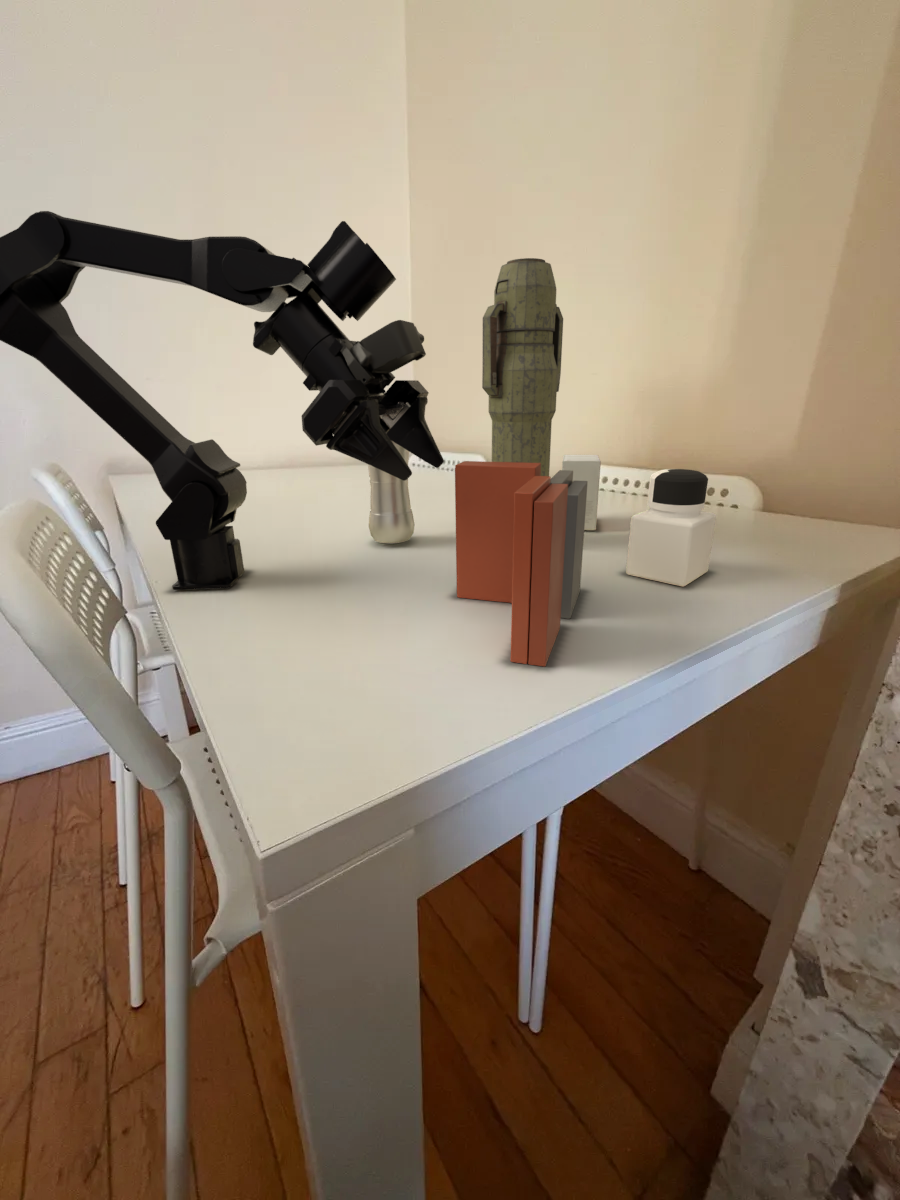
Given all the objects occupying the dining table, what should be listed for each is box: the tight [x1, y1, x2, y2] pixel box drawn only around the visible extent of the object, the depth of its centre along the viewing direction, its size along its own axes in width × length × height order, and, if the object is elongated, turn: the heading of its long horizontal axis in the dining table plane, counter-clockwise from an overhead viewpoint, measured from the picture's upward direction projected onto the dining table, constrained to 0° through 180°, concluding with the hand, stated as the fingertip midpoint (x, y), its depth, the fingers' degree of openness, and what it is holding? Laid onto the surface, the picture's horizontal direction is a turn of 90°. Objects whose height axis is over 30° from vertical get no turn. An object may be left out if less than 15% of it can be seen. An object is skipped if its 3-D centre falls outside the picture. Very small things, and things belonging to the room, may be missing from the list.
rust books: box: [510, 475, 568, 667], centre depth 47 cm, size 3×8×14 cm, turn 161°
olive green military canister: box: [481, 257, 564, 476], centre depth 75 cm, size 9×12×35 cm
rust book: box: [454, 460, 541, 604], centre depth 59 cm, size 8×3×14 cm, turn 71°
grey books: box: [550, 469, 588, 620], centre depth 57 cm, size 3×8×13 cm, turn 161°
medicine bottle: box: [625, 468, 717, 587], centre depth 65 cm, size 7×7×12 cm
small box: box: [561, 454, 602, 531], centre depth 88 cm, size 8×6×10 cm
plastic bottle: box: [367, 441, 415, 545], centre depth 79 cm, size 6×7×20 cm
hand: (425, 470), depth 59 cm, fingers open, 9 cm apart
